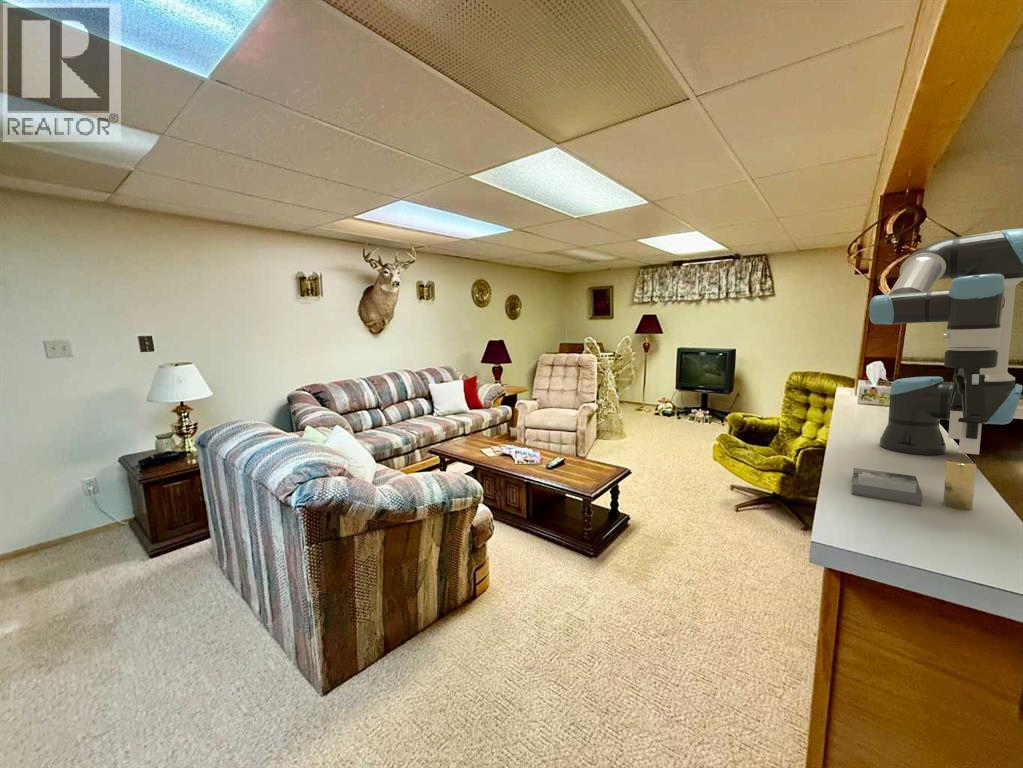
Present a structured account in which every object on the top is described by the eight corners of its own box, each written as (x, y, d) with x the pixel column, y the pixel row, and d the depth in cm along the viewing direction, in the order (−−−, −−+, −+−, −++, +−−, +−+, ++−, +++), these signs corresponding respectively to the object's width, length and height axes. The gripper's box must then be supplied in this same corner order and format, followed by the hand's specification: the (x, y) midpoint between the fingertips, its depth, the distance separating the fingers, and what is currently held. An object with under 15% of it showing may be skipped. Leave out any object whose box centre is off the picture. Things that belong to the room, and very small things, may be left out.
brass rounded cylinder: (960, 501, 92) (964, 459, 90) (978, 510, 87) (982, 466, 86) (937, 501, 92) (940, 459, 91) (954, 509, 88) (958, 466, 87)
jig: (852, 476, 109) (853, 459, 109) (915, 485, 101) (916, 467, 101) (852, 494, 99) (853, 475, 98) (921, 505, 91) (922, 485, 90)
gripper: (937, 346, 97) (930, 431, 100) (955, 352, 79) (946, 457, 81) (984, 345, 92) (976, 435, 95) (1015, 352, 74) (1004, 463, 76)
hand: (962, 445), depth 88 cm, fingers open, 13 cm apart
